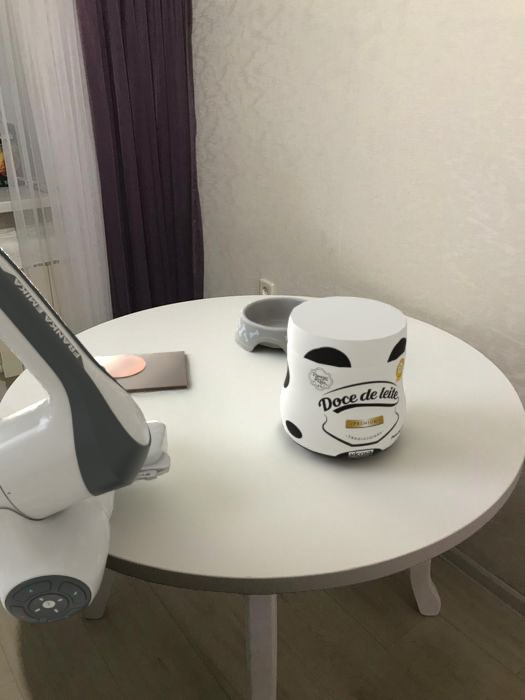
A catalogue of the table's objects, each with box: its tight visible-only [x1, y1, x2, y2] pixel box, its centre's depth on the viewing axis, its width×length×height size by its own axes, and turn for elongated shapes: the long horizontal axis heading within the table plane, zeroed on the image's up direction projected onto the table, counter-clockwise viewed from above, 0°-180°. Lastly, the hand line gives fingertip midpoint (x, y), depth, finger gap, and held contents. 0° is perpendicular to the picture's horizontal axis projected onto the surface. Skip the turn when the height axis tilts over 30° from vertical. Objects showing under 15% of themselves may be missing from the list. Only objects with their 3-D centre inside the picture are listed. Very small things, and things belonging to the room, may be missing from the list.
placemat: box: [93, 350, 188, 394], centre depth 100 cm, size 20×13×1 cm, turn 99°
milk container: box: [279, 295, 408, 460], centre depth 80 cm, size 17×17×18 cm
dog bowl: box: [234, 296, 309, 356], centre depth 113 cm, size 17×18×5 cm
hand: (87, 417), depth 76 cm, fingers open, 8 cm apart
